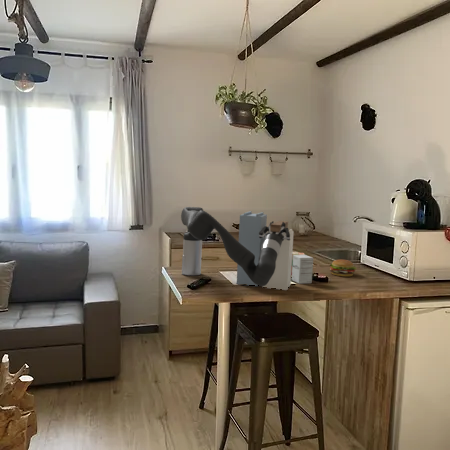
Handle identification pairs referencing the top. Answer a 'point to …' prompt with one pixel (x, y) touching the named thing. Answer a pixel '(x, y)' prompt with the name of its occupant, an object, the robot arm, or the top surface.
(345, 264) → the food
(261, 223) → the slate stand
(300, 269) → the supplement box
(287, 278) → the end-cap post
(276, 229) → the walnut slat
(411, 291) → the top surface
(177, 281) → the top surface
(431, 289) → the top surface
